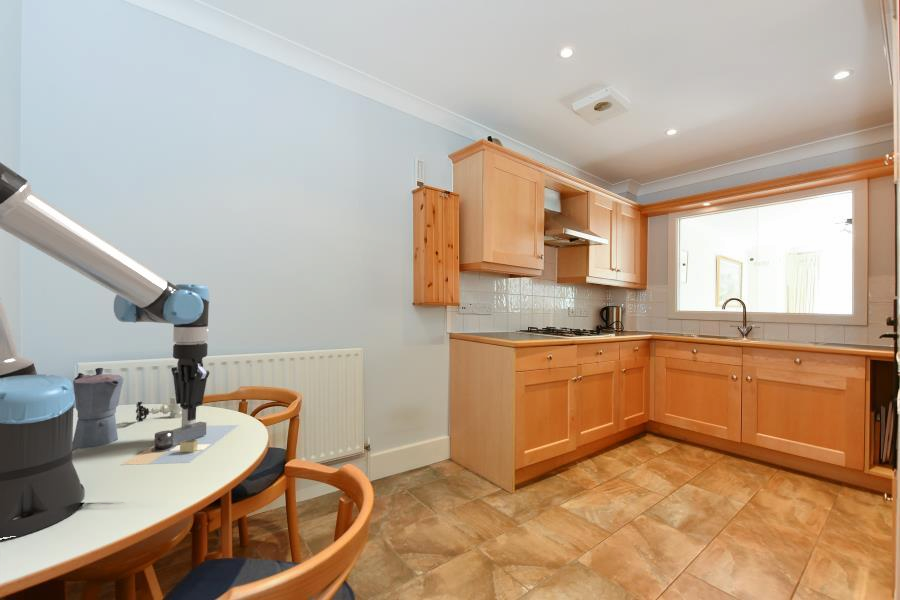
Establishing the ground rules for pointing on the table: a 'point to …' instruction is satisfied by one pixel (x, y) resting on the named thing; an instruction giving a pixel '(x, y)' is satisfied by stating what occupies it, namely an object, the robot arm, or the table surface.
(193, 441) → the block
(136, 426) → the table surface
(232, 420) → the table surface
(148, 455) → the door panel
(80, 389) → the moka pot
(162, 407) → the valve
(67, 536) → the table surface
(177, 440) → the latch bar
